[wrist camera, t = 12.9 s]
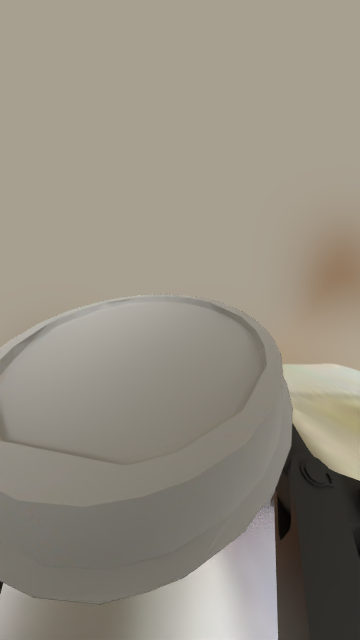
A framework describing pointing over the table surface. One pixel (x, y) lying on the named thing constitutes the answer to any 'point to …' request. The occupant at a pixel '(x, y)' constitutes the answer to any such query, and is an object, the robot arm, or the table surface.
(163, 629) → the table surface
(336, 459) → the table surface
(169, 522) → the disposable coffee cup
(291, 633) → the robot arm
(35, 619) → the table surface
